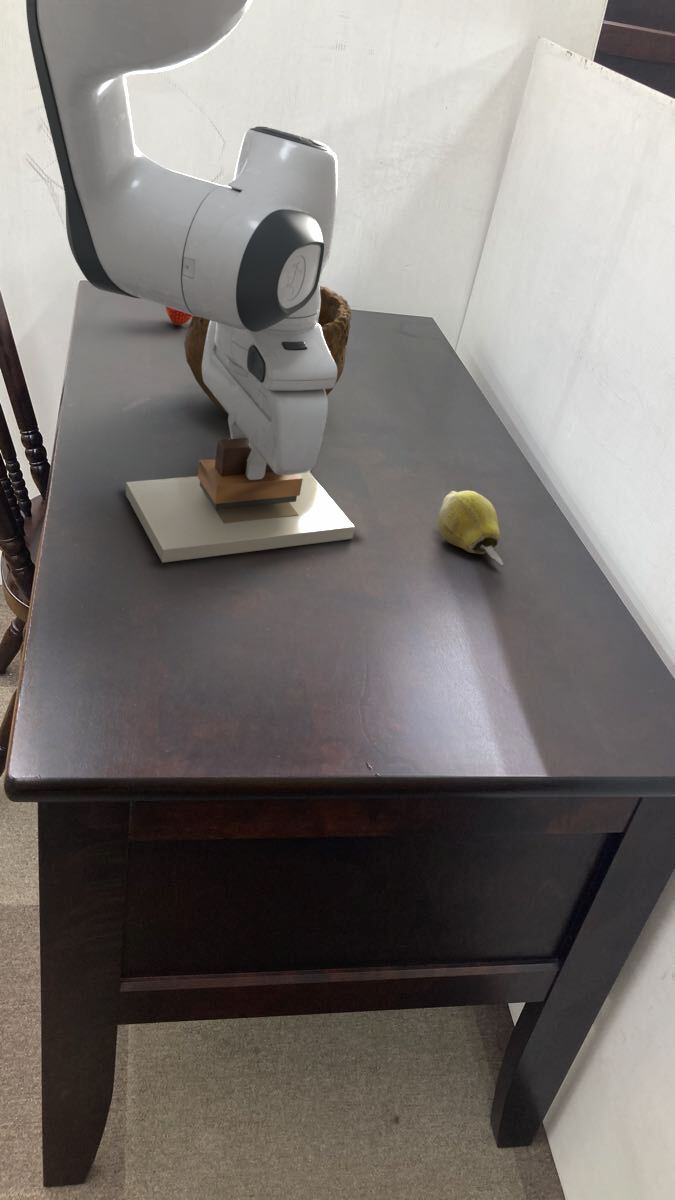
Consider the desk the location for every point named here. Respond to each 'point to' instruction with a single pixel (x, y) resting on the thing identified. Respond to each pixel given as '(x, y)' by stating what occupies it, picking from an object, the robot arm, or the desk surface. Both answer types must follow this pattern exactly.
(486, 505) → the fruit
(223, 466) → the brush
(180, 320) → the fruit
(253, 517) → the tile
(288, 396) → the robot arm
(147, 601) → the desk surface
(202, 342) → the bowl
